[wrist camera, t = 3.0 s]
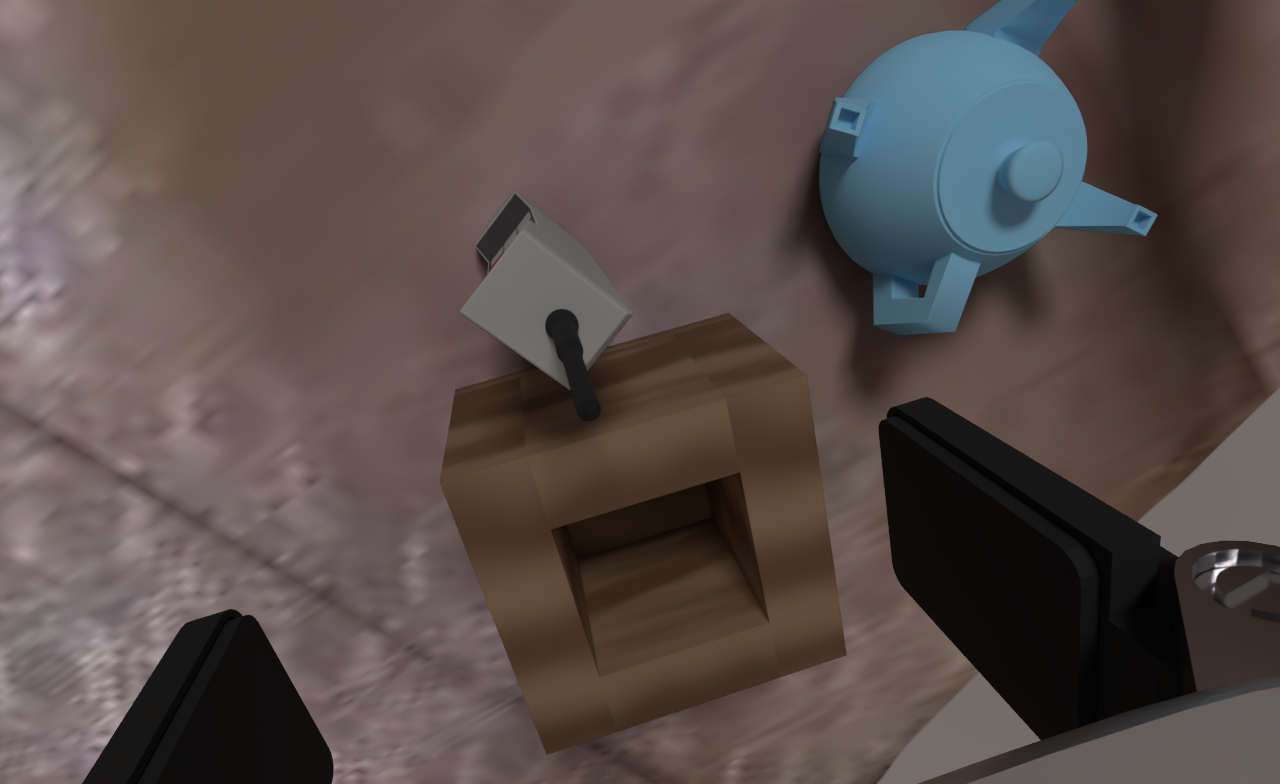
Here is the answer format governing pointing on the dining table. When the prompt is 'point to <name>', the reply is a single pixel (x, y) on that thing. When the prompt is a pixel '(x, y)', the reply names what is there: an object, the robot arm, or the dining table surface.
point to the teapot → (959, 164)
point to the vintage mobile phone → (546, 298)
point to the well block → (647, 528)
